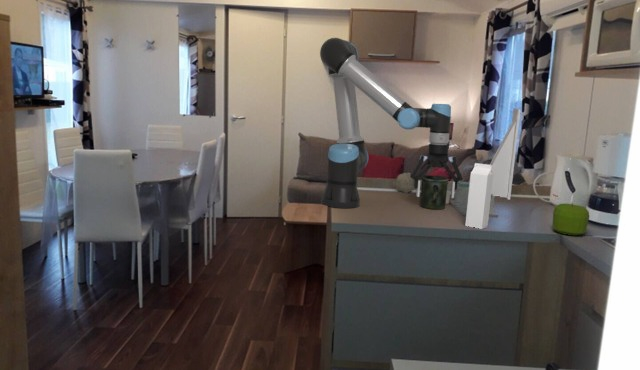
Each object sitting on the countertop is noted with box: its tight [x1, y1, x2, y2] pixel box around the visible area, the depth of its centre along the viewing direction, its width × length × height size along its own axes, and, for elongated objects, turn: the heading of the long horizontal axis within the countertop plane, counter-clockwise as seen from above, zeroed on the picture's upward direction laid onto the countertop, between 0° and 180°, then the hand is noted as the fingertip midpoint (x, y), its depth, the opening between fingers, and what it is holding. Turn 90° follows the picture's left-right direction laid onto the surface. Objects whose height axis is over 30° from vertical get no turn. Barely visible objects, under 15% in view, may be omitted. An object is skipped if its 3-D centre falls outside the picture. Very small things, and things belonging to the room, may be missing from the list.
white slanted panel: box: [489, 108, 522, 201], centre depth 244 cm, size 20×14×40 cm
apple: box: [551, 203, 590, 236], centre depth 181 cm, size 11×11×11 cm
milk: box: [465, 162, 493, 230], centre depth 183 cm, size 6×6×22 cm
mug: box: [419, 174, 450, 210], centre depth 210 cm, size 11×15×12 cm
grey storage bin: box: [448, 181, 499, 218], centre depth 211 cm, size 13×24×9 cm, turn 0°
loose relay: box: [446, 190, 451, 204], centre depth 223 cm, size 5×4×5 cm
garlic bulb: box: [393, 172, 415, 194], centre depth 241 cm, size 9×8×10 cm
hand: (434, 197), depth 210 cm, fingers open, 13 cm apart
